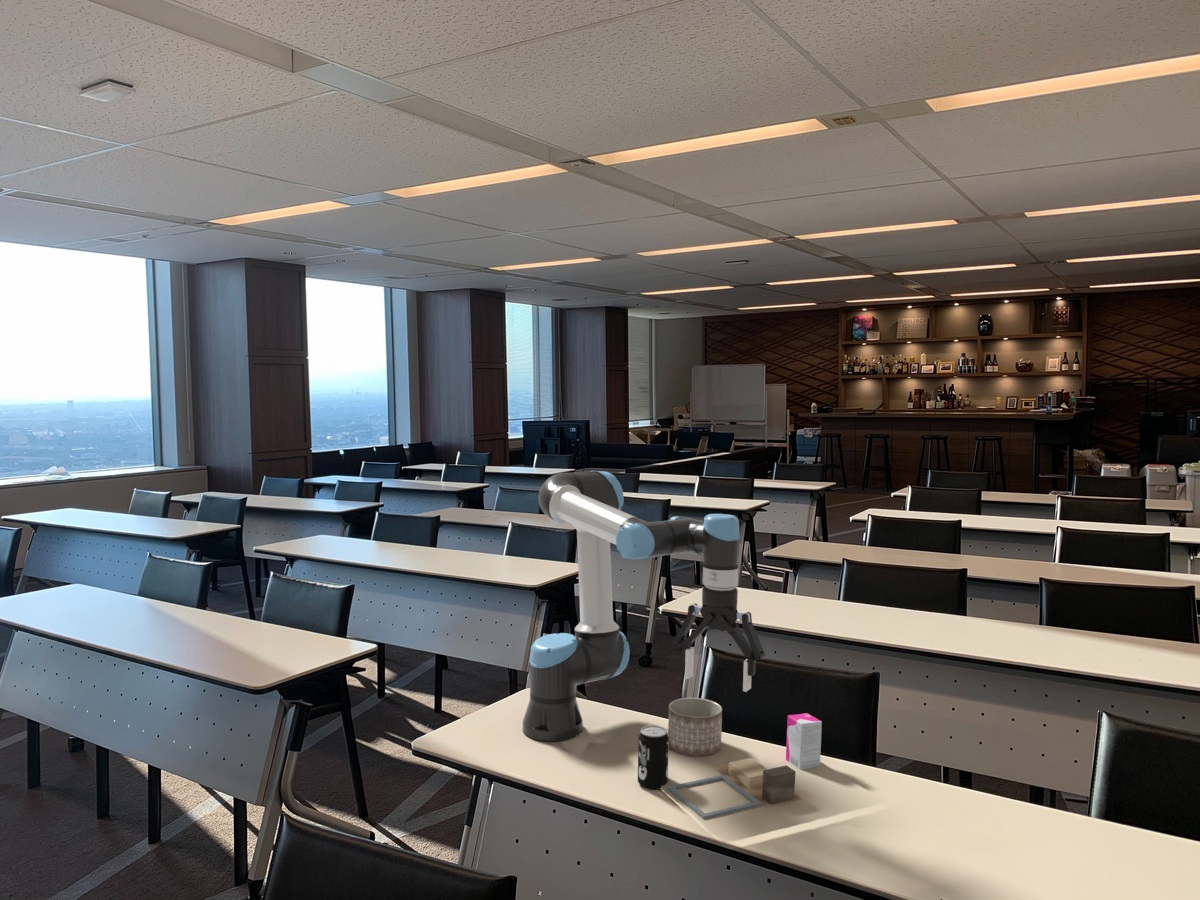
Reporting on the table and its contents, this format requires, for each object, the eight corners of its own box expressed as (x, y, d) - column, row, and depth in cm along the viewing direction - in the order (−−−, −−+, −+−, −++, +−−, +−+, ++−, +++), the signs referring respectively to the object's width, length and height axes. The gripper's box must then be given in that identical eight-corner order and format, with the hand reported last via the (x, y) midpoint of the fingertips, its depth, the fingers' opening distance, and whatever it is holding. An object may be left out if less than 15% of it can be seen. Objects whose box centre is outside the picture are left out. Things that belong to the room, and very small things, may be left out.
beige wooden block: (728, 773, 186) (728, 762, 186) (750, 768, 189) (751, 757, 189) (749, 788, 179) (749, 777, 179) (772, 783, 181) (772, 772, 181)
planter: (723, 742, 206) (724, 700, 205) (717, 763, 193) (719, 719, 193) (672, 736, 209) (673, 695, 208) (663, 757, 197) (664, 713, 196)
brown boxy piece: (712, 771, 189) (713, 741, 189) (745, 764, 193) (746, 735, 193) (766, 811, 171) (767, 778, 171) (801, 803, 175) (802, 770, 175)
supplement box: (821, 770, 191) (822, 721, 190) (799, 774, 189) (800, 724, 188) (805, 759, 196) (807, 711, 196) (784, 763, 194) (786, 715, 193)
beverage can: (665, 792, 179) (666, 738, 178) (635, 789, 180) (636, 735, 179) (669, 779, 185) (670, 726, 184) (640, 775, 186) (641, 723, 186)
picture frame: (668, 793, 179) (668, 786, 178) (723, 781, 184) (723, 774, 184) (703, 824, 166) (703, 816, 166) (761, 810, 172) (761, 803, 172)
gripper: (660, 582, 183) (658, 677, 185) (769, 598, 170) (765, 700, 171) (676, 576, 190) (674, 667, 191) (781, 591, 176) (778, 689, 178)
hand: (717, 683), depth 181 cm, fingers open, 13 cm apart
